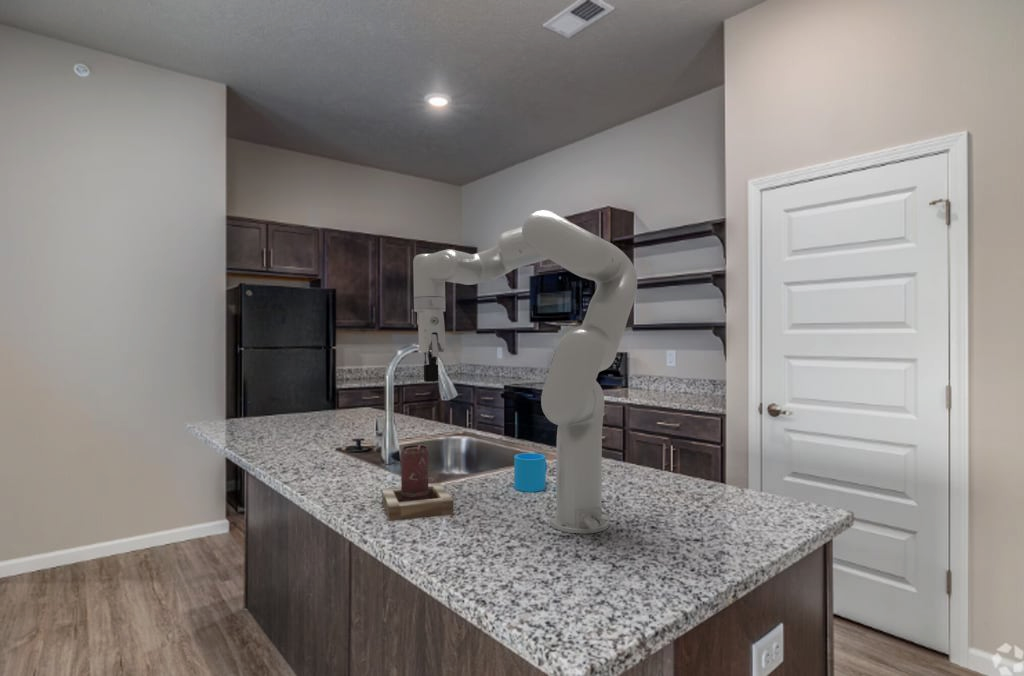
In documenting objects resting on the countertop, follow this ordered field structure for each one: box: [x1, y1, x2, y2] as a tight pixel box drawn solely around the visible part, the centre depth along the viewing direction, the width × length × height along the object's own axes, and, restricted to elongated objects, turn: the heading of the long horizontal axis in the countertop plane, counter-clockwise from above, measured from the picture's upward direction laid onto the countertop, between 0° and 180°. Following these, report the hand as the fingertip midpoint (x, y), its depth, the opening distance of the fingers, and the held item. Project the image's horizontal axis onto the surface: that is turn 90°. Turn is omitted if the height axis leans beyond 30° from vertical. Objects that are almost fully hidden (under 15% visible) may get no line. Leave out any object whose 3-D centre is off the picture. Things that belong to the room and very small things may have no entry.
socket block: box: [381, 483, 454, 522], centre depth 126 cm, size 14×14×3 cm
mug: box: [513, 452, 548, 493], centre depth 145 cm, size 12×8×8 cm
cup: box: [400, 444, 429, 502], centre depth 127 cm, size 6×6×14 cm
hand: (431, 381), depth 133 cm, fingers closed
